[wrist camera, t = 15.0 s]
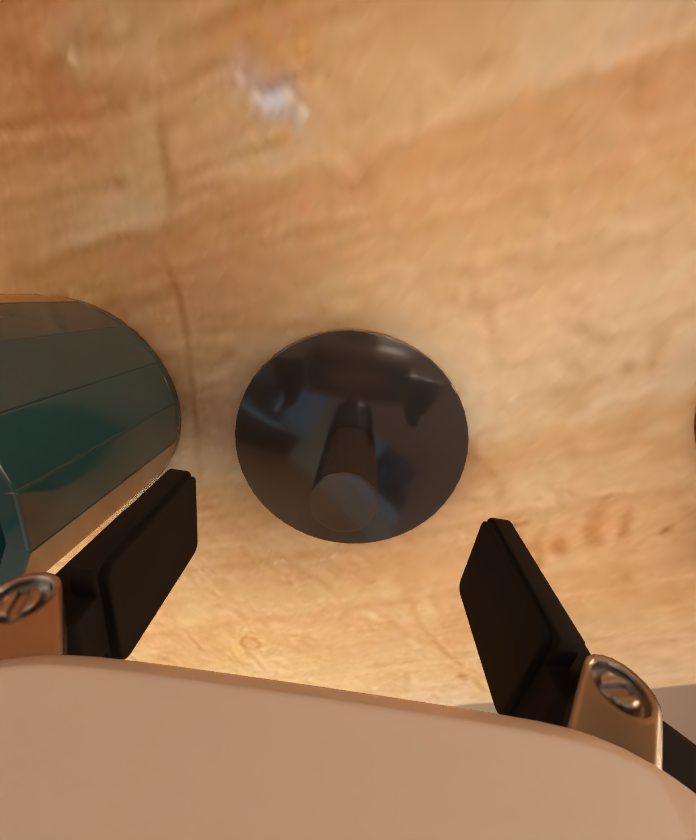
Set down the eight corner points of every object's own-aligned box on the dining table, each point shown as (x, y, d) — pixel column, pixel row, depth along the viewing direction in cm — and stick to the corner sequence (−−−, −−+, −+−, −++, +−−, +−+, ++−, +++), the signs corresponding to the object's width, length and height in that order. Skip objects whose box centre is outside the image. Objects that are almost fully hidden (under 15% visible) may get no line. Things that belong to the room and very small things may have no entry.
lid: (238, 514, 21) (191, 595, 16) (246, 309, 17) (184, 317, 11) (433, 544, 22) (457, 637, 16) (491, 348, 17) (555, 376, 11)
